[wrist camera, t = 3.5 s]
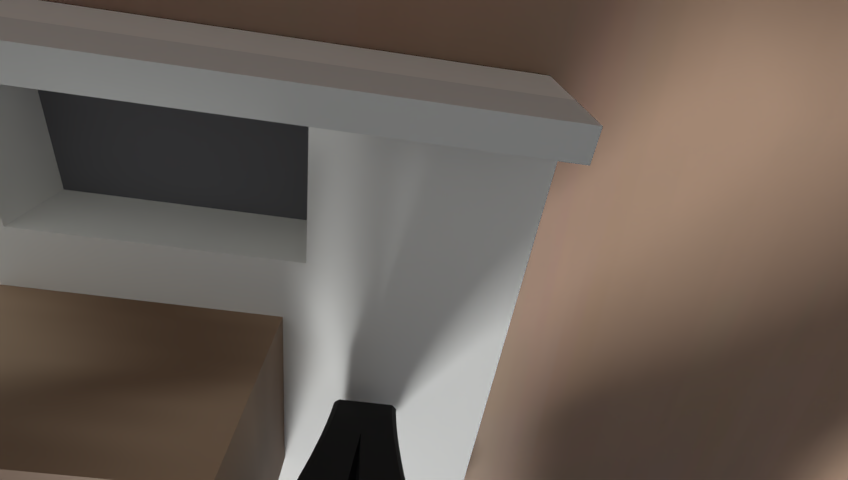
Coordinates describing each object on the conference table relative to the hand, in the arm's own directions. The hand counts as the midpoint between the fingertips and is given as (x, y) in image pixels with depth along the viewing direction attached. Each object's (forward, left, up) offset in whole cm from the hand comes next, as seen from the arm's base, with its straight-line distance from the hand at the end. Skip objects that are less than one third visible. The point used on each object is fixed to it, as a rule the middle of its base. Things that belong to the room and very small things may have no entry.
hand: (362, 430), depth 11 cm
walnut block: (+5, 0, -1) cm, 5 cm away
